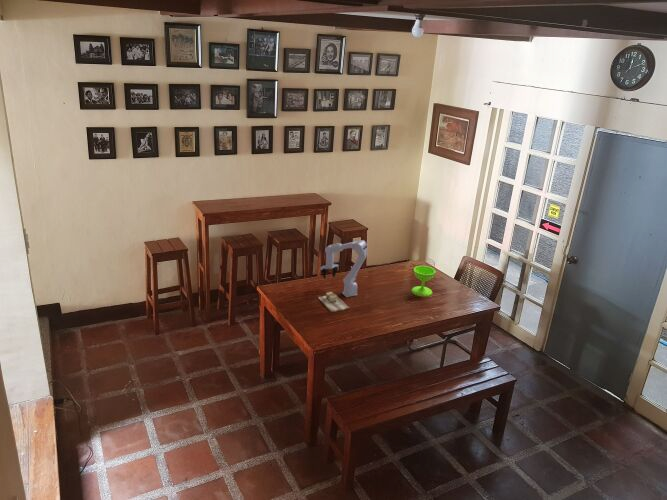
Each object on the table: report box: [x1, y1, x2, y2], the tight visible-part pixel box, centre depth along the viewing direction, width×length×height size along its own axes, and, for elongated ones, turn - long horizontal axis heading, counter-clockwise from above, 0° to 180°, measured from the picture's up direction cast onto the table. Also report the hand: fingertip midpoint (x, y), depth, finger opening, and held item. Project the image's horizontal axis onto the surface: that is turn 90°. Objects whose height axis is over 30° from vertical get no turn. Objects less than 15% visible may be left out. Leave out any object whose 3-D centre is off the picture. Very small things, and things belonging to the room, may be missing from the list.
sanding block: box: [325, 291, 337, 303], centre depth 380 cm, size 8×4×4 cm, turn 25°
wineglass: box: [410, 265, 436, 297], centre depth 399 cm, size 16×16×18 cm
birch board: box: [317, 293, 350, 313], centre depth 378 cm, size 14×22×1 cm, turn 26°
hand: (328, 277), depth 396 cm, fingers open, 7 cm apart
